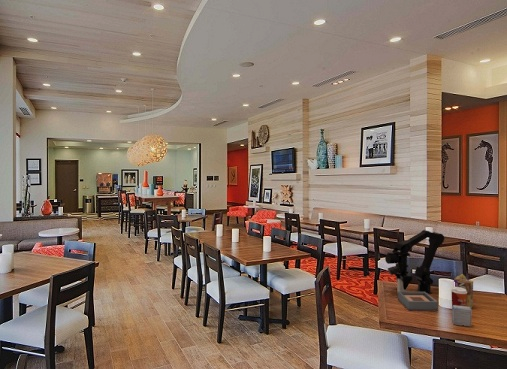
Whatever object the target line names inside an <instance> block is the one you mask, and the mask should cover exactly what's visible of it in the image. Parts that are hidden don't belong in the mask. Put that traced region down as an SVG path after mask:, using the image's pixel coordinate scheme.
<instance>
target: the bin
mask: <svg viewBox="0 0 507 369" xmlns="http://www.w3.org/2000/svg"><path fill="white" fill-rule="evenodd" d="M397 300H398V302H400V304H402V306H403V307H404V308H405V309H406V310H407V311H413V312H414V311H418V312H421V311H423V312H424V311H425V312H426V311H427V312H429V311H430V312H432V311H433V312H437V311H439V301H438V300H436V299H435V298H434V297H432V296H431V295H430V294H429V293H426V292H419V291H406V292H405V291H398V293H397Z"/></svg>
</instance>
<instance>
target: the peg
mask: <svg viewBox="0 0 507 369" xmlns="http://www.w3.org/2000/svg"><path fill="white" fill-rule="evenodd" d="M396 282H397V285H396V286H397V287H396V288H397V289H396V292H397V294H398V291H405V292H407V289H406V290H404V288H403V281H402V280H401V279H397V278H396Z"/></svg>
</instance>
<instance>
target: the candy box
mask: <svg viewBox="0 0 507 369" xmlns="http://www.w3.org/2000/svg"><path fill="white" fill-rule="evenodd" d="M466 279H467V278H466ZM466 279H461V278H457V277H454V278H453V283H454V282H455V287H461V288H464V289H466V291H467V294H466V304H465V307H469V308H470V309H472V308H473V306H474V305H473V304H474V302H473V300H474V280H470V279H467V280H466Z"/></svg>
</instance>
